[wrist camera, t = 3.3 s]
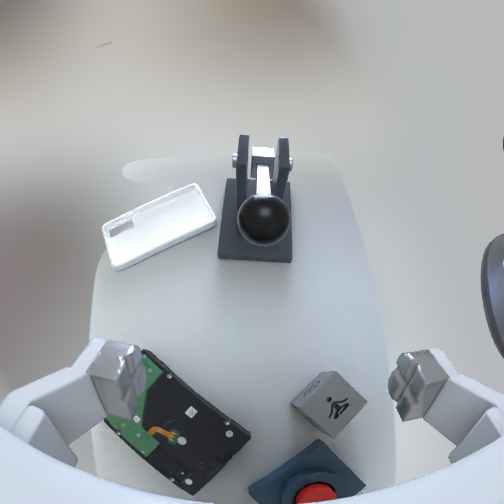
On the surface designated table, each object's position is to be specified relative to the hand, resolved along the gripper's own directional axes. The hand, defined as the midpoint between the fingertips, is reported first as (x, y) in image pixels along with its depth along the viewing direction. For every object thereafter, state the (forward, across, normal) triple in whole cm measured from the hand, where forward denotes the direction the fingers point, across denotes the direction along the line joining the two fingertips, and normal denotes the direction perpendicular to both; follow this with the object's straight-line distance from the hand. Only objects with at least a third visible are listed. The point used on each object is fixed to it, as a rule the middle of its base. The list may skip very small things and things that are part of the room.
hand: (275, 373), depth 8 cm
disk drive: (+12, +8, +21) cm, 26 cm away
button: (+4, -7, +24) cm, 25 cm away
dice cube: (+14, -8, +19) cm, 25 cm away
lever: (+18, 0, -2) cm, 18 cm away
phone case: (+29, +13, +4) cm, 32 cm away
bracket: (+30, 0, +2) cm, 31 cm away
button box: (+6, -7, +26) cm, 28 cm away
